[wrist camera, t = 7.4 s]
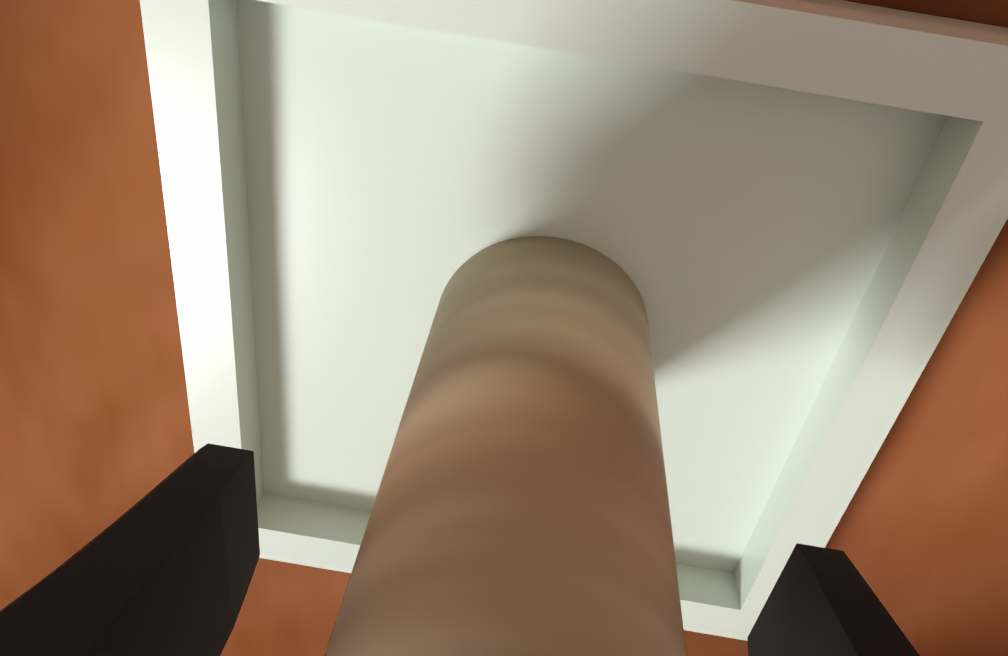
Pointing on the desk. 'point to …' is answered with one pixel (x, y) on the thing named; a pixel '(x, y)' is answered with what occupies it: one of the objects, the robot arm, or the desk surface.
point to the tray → (577, 233)
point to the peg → (523, 475)
